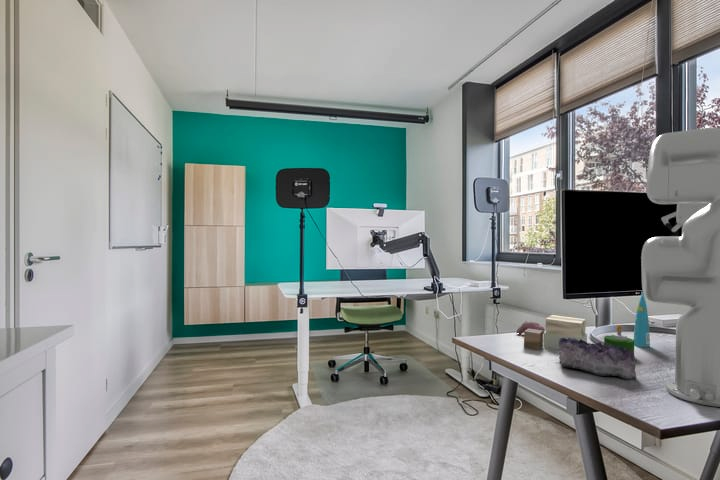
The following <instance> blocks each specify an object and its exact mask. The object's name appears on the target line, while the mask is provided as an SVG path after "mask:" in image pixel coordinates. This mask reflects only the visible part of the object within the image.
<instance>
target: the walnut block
mask: <svg viewBox="0 0 720 480" xmlns="http://www.w3.org/2000/svg"><path fill="white" fill-rule="evenodd" d="M543 342H544V334H543V331H541V330H535V329H529V328H528V329H527V330H525V331H524V333H523V349H527V350H532V351H539V352H541V351H542V349H544V346H543Z"/></svg>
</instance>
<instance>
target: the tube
mask: <svg viewBox="0 0 720 480" xmlns="http://www.w3.org/2000/svg"><path fill="white" fill-rule="evenodd" d="M633 329H634V330H633V340H634V347H639V348H650V347H651V338H650V323H649V313H648V307H647V302H646V297H645V296H644V293H643V291H641V294H640V298H639V300H638V305H637V309H636V313H635V321H634V328H633Z"/></svg>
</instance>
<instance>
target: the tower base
mask: <svg viewBox="0 0 720 480" xmlns="http://www.w3.org/2000/svg"><path fill="white" fill-rule="evenodd" d="M560 338H566V339H568V338H574V339H576V340H578V341H580V339H581V340H583V341H585V342H587V343H588V333H586V332H585V334H584V335H583V336H582V337H581V338H575V337H569V336H563V335H557V334H550V333H546V331H545V332H544V334H543V347H547V348H548V347H549V348H554V349H559V350H560V347H559V345H558V342H559V339H560Z"/></svg>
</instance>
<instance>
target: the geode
mask: <svg viewBox="0 0 720 480" xmlns="http://www.w3.org/2000/svg"><path fill="white" fill-rule="evenodd" d="M558 345H559V347H560V349H559V357H558V359H559V361H560V365H561V366H562V367H566V368H571V369H577V370H580V371H581V370H582V371H583V372H586V373H591V374H593V375H595V376H600V377H604V376H607V377H608V376H609V377H610V376H611V377H613V376H614V377H619V378H622V379H623V380H626V381H632V380H633V381H634V380H636V379H637V373H636V362H635V361H636V357H635V353H634V354H633V351H630V350H629V349H628V348H625V349H623V348H622V347H619V346H617V345H616V346H615V347H613V346H612V345H611V344H608V343H606V342H605V343H604V342H603V344H602V342H600V341H599V342H596V343H594V342H593V343H590V342H589V343H588V341H587V342H585V341H583V340H581V339H580V341H578V340H576V339H574V338H568V339H566V338H560V339H559V342H558Z"/></svg>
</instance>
